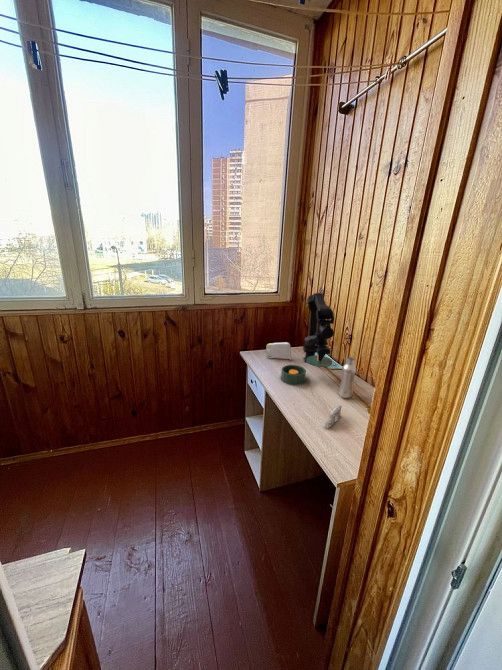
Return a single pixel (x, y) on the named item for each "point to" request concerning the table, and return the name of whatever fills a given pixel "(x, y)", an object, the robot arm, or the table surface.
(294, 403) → the table surface
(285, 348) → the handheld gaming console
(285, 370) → the tin
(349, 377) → the silver metal bottle
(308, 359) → the tin lid
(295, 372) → the candle
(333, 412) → the grey stone
